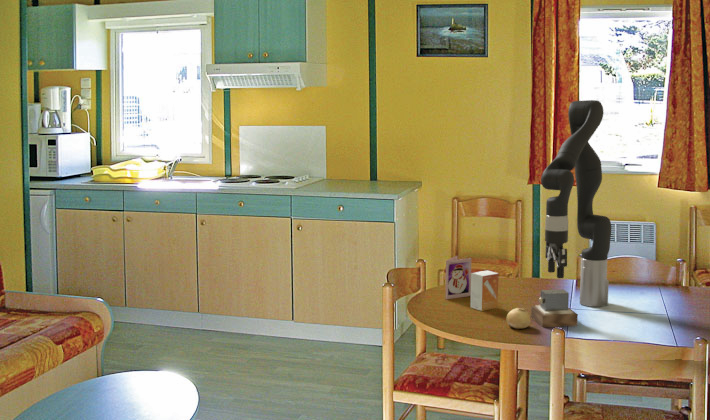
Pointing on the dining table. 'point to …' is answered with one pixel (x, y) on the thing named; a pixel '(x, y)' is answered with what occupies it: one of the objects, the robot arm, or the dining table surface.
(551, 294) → the block
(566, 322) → the stand
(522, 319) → the onion
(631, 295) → the dining table surface
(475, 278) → the small box
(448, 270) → the greeting card
